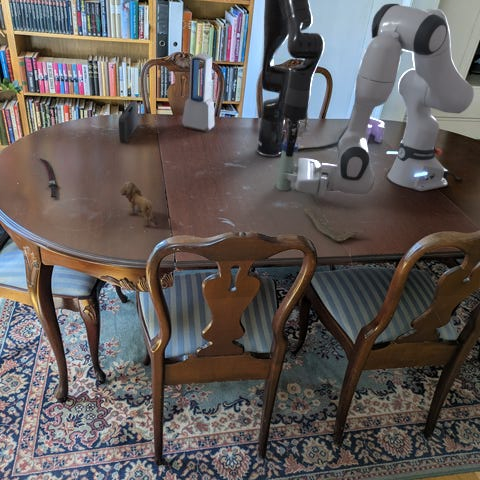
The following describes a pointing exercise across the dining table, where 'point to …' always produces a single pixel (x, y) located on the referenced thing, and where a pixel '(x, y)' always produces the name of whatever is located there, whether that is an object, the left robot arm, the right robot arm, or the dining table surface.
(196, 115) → the electronic device
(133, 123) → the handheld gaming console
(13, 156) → the dining table surface
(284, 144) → the lid
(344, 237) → the jawbone
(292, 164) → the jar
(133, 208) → the lion figurine
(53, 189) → the sword
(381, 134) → the lavender notched block
